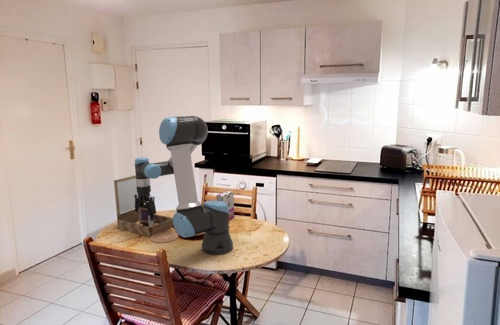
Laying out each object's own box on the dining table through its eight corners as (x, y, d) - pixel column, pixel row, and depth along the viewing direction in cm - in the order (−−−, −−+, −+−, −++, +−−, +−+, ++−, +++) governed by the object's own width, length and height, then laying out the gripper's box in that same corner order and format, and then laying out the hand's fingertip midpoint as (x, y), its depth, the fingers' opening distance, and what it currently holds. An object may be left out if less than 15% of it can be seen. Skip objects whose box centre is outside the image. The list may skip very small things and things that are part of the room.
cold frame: (174, 226, 201) (172, 194, 197) (150, 237, 186) (148, 202, 182) (142, 219, 214) (140, 189, 211) (117, 228, 199) (115, 196, 195)
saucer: (183, 235, 187) (183, 233, 187) (164, 245, 175) (164, 243, 175) (164, 231, 194) (164, 229, 194) (145, 239, 182) (144, 237, 182)
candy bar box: (228, 216, 217) (227, 190, 214) (234, 217, 215) (234, 191, 212) (216, 221, 208) (215, 194, 205) (223, 223, 205) (222, 195, 203)
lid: (142, 206, 212) (140, 174, 208) (118, 215, 197) (115, 180, 193) (141, 206, 213) (139, 174, 209) (116, 215, 197) (113, 180, 194)
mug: (148, 222, 205) (146, 202, 203) (157, 223, 202) (156, 203, 200) (135, 227, 196) (133, 207, 194) (145, 229, 193) (143, 208, 191)
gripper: (161, 185, 193) (164, 225, 197) (136, 182, 204) (139, 220, 207) (151, 188, 187) (154, 229, 191) (125, 185, 197) (129, 224, 201)
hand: (146, 224), depth 199 cm, fingers closed on mug, 7 cm apart
